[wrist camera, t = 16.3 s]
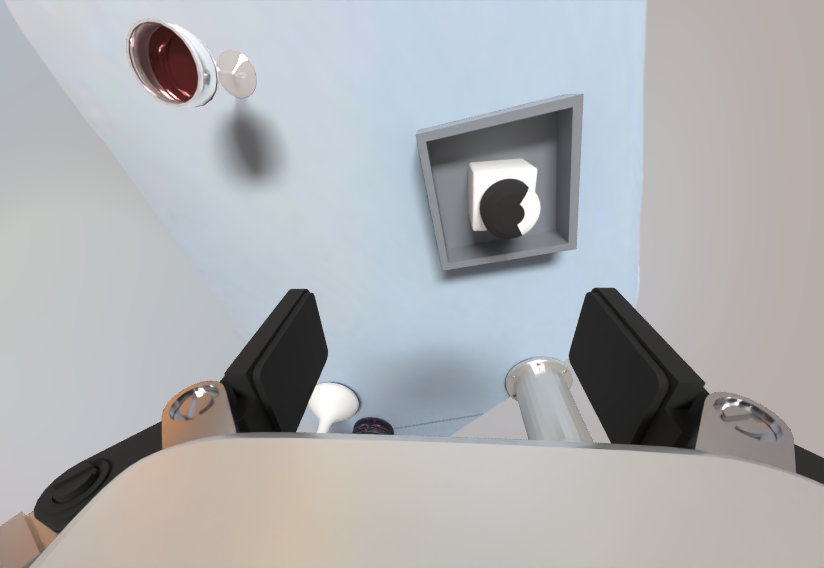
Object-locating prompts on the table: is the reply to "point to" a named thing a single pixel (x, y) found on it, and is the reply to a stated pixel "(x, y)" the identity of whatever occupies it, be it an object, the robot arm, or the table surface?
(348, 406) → the flower in vase
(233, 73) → the wineglass
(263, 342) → the robot arm
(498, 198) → the medicine bottle
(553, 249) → the bin
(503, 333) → the table surface
